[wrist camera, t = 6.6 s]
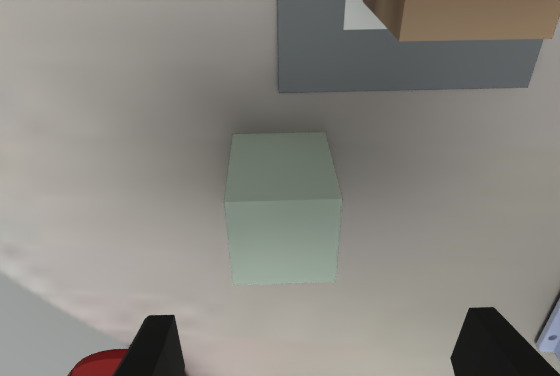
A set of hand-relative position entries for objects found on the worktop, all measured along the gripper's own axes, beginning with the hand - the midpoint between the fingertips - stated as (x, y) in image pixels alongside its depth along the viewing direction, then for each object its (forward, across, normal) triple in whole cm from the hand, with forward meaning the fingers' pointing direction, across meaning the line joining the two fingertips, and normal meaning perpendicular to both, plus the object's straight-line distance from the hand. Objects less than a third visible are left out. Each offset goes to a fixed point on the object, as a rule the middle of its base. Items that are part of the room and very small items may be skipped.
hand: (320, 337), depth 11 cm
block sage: (+10, +1, +1) cm, 10 cm away
